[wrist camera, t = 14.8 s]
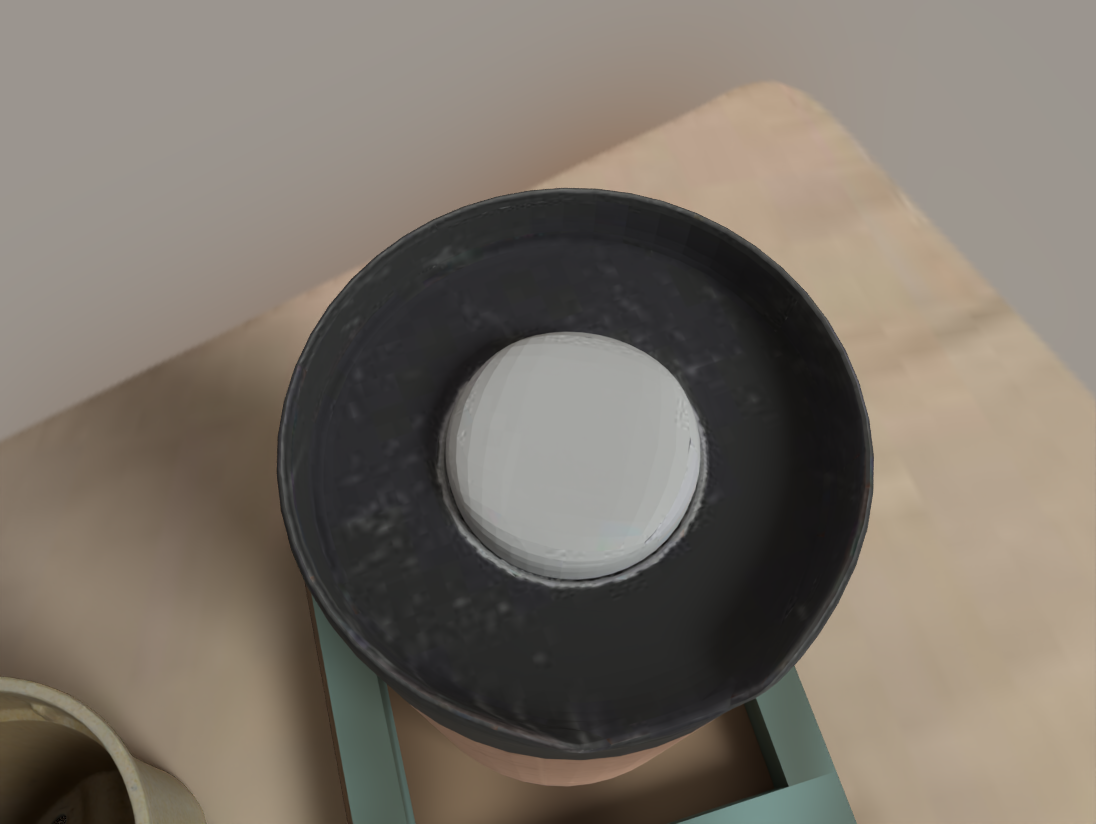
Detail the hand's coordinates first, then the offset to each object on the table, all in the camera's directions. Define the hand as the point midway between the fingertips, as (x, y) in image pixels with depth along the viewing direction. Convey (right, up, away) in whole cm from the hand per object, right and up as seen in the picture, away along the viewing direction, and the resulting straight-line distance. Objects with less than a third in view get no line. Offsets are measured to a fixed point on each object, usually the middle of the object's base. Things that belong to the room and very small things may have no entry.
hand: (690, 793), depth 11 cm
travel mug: (-2, -4, +18) cm, 18 cm away
